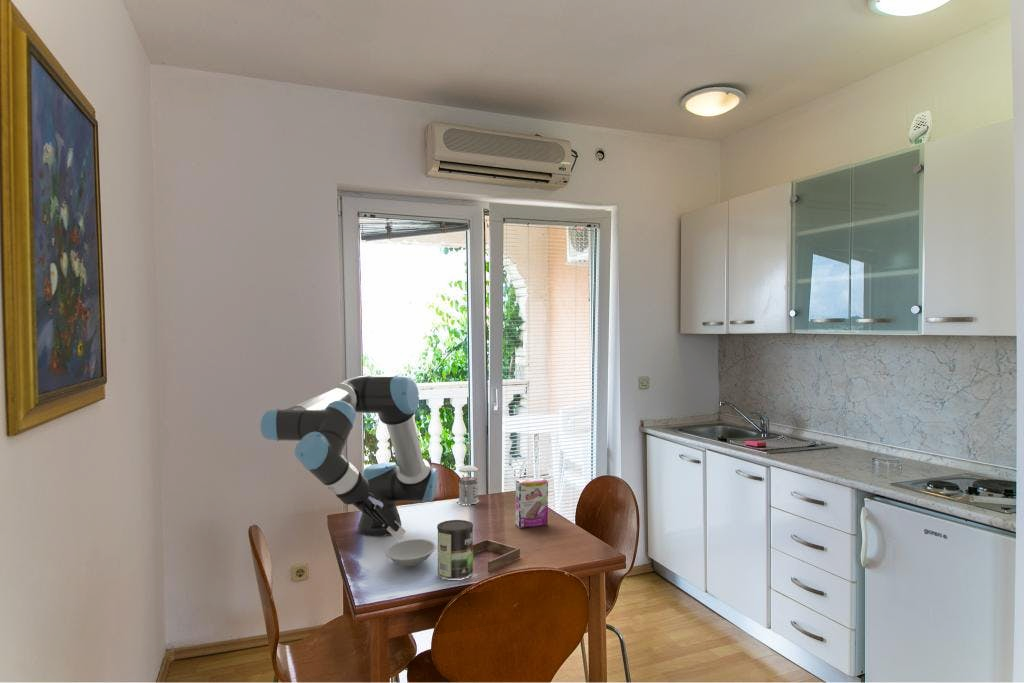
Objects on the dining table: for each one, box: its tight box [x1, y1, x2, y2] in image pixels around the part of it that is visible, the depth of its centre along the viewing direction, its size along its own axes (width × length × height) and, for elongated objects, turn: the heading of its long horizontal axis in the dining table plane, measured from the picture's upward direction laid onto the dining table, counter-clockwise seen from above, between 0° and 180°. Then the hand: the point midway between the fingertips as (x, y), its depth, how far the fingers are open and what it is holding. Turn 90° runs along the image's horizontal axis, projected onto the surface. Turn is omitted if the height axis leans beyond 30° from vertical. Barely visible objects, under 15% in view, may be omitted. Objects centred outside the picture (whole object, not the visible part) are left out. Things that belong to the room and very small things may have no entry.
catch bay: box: [473, 538, 521, 573], centre depth 179 cm, size 14×14×3 cm
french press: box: [457, 441, 480, 506], centre depth 242 cm, size 10×12×25 cm
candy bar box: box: [514, 478, 549, 529], centre depth 212 cm, size 11×5×16 cm, turn 108°
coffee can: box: [436, 519, 474, 580], centre depth 168 cm, size 10×10×14 cm
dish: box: [385, 538, 437, 567], centre depth 174 cm, size 18×14×5 cm
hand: (401, 535), depth 152 cm, fingers closed
